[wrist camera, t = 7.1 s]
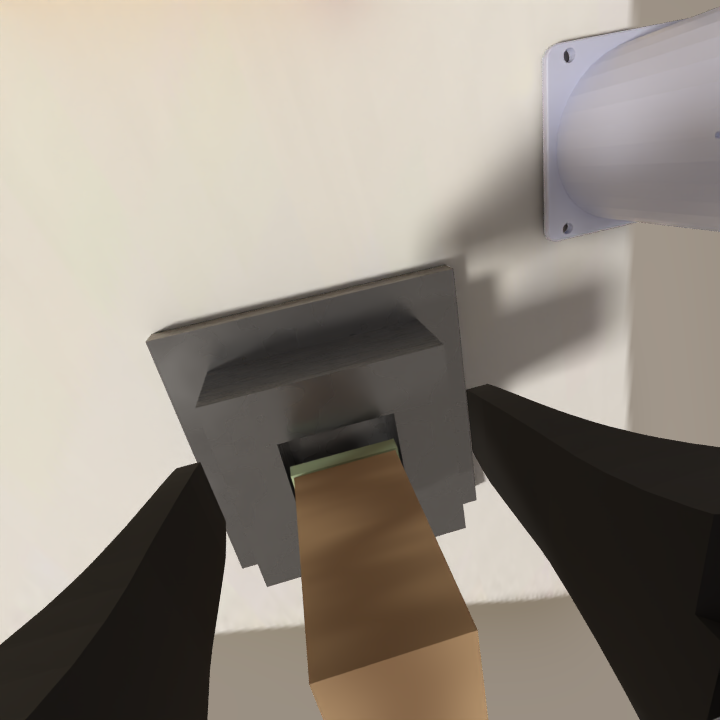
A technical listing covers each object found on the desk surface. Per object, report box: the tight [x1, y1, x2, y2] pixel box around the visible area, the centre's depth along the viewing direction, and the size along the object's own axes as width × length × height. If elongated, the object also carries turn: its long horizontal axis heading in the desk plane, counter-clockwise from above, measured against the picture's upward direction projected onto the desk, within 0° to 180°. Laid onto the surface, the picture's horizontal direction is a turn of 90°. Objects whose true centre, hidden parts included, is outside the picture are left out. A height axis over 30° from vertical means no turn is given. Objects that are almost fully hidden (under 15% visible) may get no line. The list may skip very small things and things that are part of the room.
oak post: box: [290, 439, 488, 720], centre depth 14 cm, size 4×4×8 cm
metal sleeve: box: [146, 265, 476, 587], centre depth 21 cm, size 14×14×5 cm
